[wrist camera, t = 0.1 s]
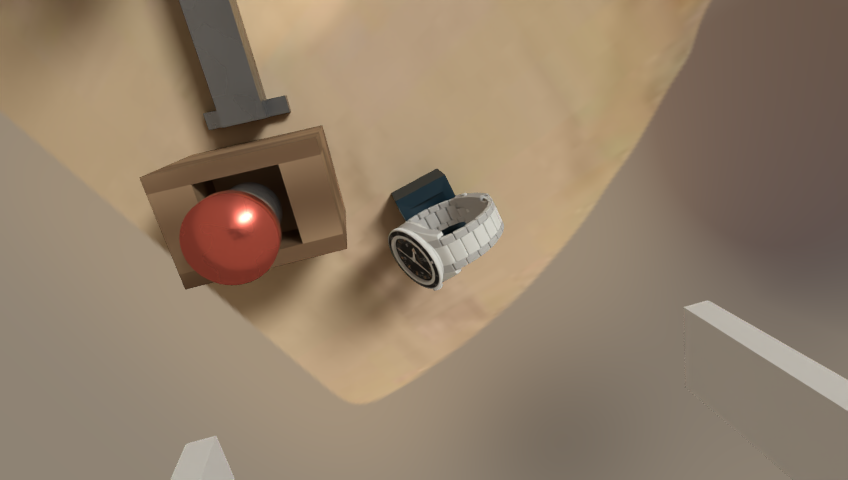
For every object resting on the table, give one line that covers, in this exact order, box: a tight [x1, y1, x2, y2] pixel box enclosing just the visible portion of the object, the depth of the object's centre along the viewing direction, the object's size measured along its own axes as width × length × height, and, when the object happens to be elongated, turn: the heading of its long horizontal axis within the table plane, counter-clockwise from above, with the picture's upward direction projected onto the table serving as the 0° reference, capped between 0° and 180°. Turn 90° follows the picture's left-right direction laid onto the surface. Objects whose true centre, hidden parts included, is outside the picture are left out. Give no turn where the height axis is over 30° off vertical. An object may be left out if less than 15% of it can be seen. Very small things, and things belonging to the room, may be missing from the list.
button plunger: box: [179, 182, 283, 285], centre depth 26 cm, size 5×5×6 cm
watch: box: [388, 169, 504, 291], centre depth 35 cm, size 6×8×11 cm
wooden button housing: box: [140, 126, 347, 289], centre depth 33 cm, size 7×10×10 cm
